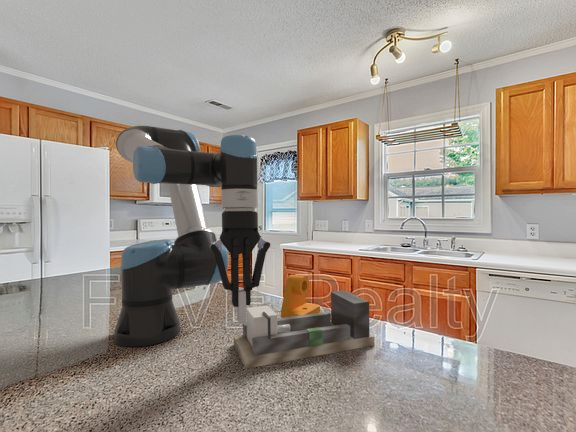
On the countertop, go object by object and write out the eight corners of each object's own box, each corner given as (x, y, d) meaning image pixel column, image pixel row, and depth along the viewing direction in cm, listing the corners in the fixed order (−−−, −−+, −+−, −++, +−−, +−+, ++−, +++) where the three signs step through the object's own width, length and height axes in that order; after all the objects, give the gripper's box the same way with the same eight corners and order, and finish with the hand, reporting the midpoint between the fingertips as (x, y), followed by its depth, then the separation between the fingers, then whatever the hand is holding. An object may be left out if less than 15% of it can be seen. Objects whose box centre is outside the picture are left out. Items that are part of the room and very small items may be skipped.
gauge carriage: (257, 355, 63) (257, 319, 63) (246, 337, 72) (246, 306, 72) (299, 348, 66) (299, 314, 66) (284, 332, 75) (283, 301, 75)
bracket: (303, 325, 86) (302, 281, 86) (280, 320, 90) (280, 278, 90) (321, 314, 95) (321, 274, 95) (300, 310, 99) (300, 271, 99)
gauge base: (245, 369, 62) (244, 318, 62) (233, 344, 74) (233, 301, 73) (374, 345, 73) (374, 301, 72) (347, 327, 84) (347, 289, 84)
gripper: (210, 210, 62) (212, 331, 62) (274, 209, 66) (275, 322, 66) (206, 210, 69) (208, 319, 69) (264, 210, 73) (266, 312, 73)
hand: (241, 320), depth 68 cm, fingers closed
